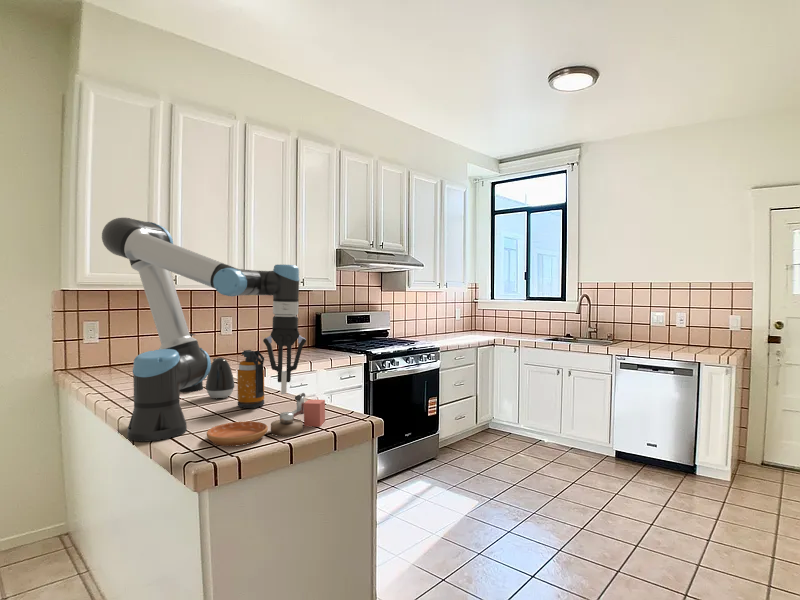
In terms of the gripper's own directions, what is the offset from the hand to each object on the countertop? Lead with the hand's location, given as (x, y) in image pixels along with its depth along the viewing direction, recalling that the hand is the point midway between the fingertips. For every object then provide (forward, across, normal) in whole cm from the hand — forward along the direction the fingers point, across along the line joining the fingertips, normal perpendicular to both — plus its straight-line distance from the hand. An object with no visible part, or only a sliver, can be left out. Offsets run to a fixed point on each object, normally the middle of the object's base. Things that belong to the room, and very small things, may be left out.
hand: (283, 392), depth 144 cm
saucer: (+10, -12, -12) cm, 19 cm away
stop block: (+10, +10, -2) cm, 14 cm away
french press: (+12, -40, +58) cm, 72 cm away
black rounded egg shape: (+11, -26, +42) cm, 50 cm away
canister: (+11, -12, +24) cm, 29 cm away
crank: (+7, +3, -4) cm, 9 cm away
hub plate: (+10, +2, -8) cm, 12 cm away
